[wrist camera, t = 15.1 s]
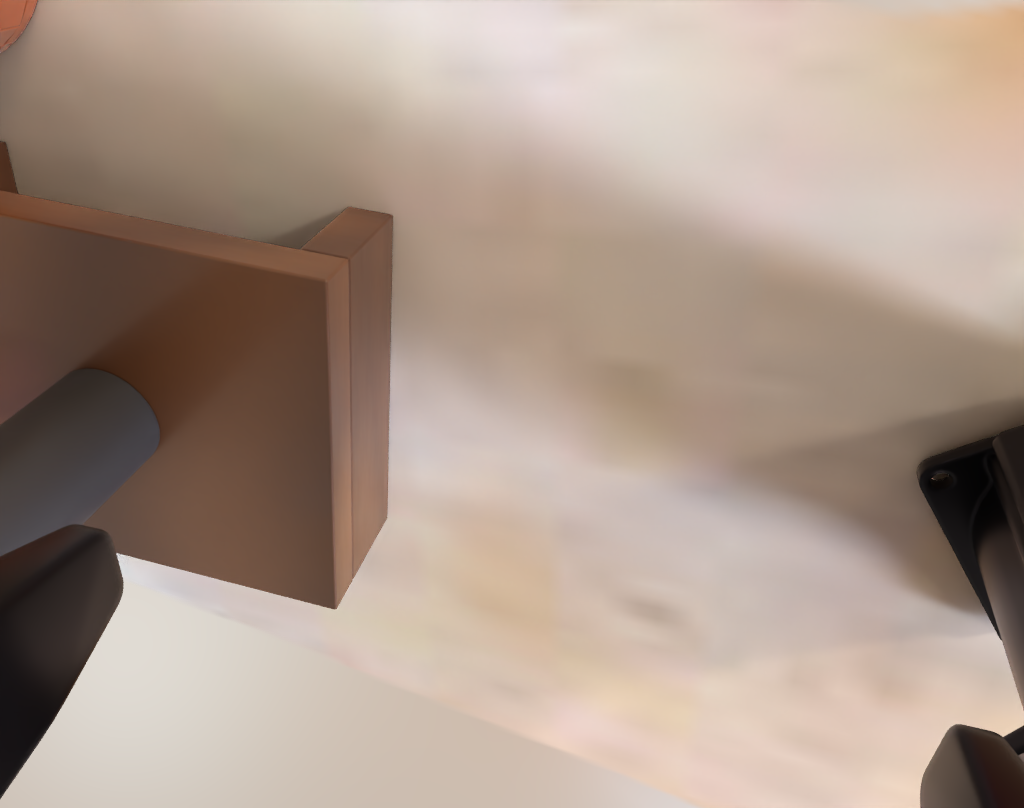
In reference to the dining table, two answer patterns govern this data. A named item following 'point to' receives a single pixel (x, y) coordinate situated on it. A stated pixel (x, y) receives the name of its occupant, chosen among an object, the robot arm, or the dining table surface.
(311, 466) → the shelf
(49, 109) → the dining table surface
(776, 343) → the dining table surface
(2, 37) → the pen cup
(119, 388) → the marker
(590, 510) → the dining table surface
